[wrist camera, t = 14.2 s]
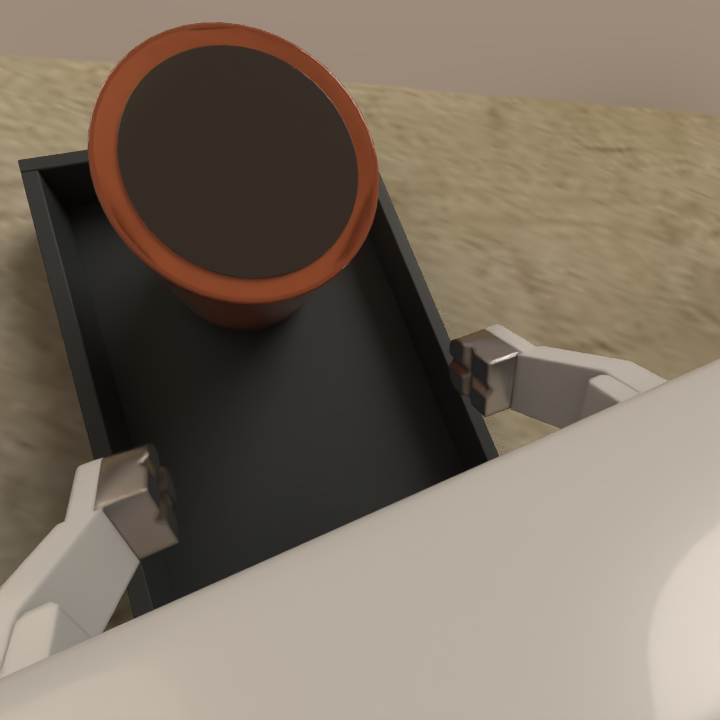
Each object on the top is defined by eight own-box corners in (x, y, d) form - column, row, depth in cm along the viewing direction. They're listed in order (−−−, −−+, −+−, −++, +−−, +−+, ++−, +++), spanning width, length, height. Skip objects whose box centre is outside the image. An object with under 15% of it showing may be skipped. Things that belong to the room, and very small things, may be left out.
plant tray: (496, 535, 19) (538, 548, 16) (187, 690, 16) (166, 747, 12) (342, 158, 23) (353, 109, 20) (58, 209, 19) (16, 159, 16)
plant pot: (334, 309, 19) (411, 266, 11) (191, 350, 18) (144, 338, 9) (292, 171, 19) (337, 8, 10) (140, 199, 17) (38, 30, 8)
